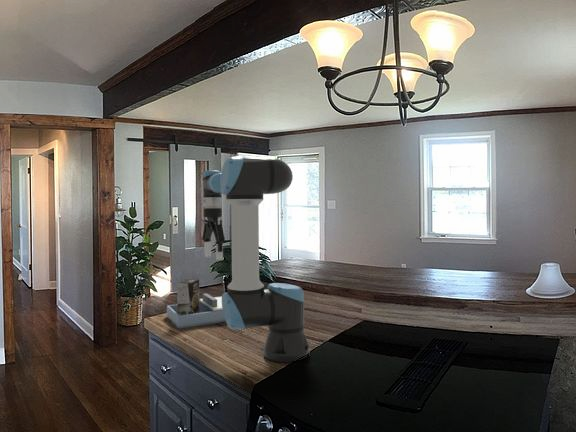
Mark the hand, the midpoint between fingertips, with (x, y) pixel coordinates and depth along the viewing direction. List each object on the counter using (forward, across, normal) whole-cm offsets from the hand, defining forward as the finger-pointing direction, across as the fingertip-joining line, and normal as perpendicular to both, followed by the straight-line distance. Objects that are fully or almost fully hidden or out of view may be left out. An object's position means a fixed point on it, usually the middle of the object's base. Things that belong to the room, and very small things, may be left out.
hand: (213, 258), depth 183 cm
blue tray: (+26, -7, -6) cm, 28 cm away
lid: (+21, -7, +9) cm, 24 cm away
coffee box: (+26, -7, -9) cm, 28 cm away
